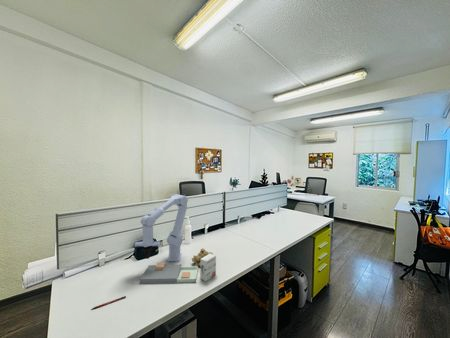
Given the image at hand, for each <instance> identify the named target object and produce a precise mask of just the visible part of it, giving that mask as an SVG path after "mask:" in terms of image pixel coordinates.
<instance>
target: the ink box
mask: <svg viewBox="0 0 450 338" xmlns="http://www.w3.org/2000/svg"><path fill="white" fill-rule="evenodd" d="M211 253H212V252H211ZM211 253H210V254H208V255H206V256H205V257H203V258H201V259H200V266H199V267H200V269H199V270H200V271H199V273H200V274H199V275H200V277H199V278H200V279H201V280H202V281H204V282H208V281H209V280H210V279H211V278H213V277H214V276H216V275H217V273H216V271H217V266H216V265H217V259H216V258H217V255H215V254H214V253H213V254H211Z"/></svg>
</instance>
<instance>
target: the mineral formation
mask: <svg viewBox="0 0 450 338" xmlns="http://www.w3.org/2000/svg"><path fill="white" fill-rule="evenodd" d="M210 253H211V254H213V255H214V253H213V252H211V251H206V249H205V248H203V247H201V249H200V251H199V252H198V253H197V255H193V256H192V258H191V261H192V262H193V263H195V264H194V266H198V267H200V259H201V258H203V257H205V256H206V255H208V254H210Z"/></svg>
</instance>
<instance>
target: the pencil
mask: <svg viewBox="0 0 450 338" xmlns="http://www.w3.org/2000/svg"><path fill="white" fill-rule="evenodd" d="M126 298H127V296H125V295H124V296H122V297H119V298H116V299H113V300H111V301H108V302H104V303H102V304H98V305H97V306H94V307H93V308H91V309H90V310H92V311H93V310H96V309H99V308H103V307H104V306H108V305H110V304H113V303H116V302H118V301H121V300H124V299H126Z"/></svg>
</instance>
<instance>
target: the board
mask: <svg viewBox="0 0 450 338" xmlns="http://www.w3.org/2000/svg"><path fill="white" fill-rule="evenodd" d="M156 265H157V264H155V265H154V264H149V265H148V266H147V267H146V269H145V270H144V271H143V272H144V273H143V274H142V275H141V276H140V279H139V284H141V285H142V284H144V285H145V284H178V283H177V279H178V277H179V274H180V271H181V267H182V264H165V267H164V269H163V270H155V267H156Z"/></svg>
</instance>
